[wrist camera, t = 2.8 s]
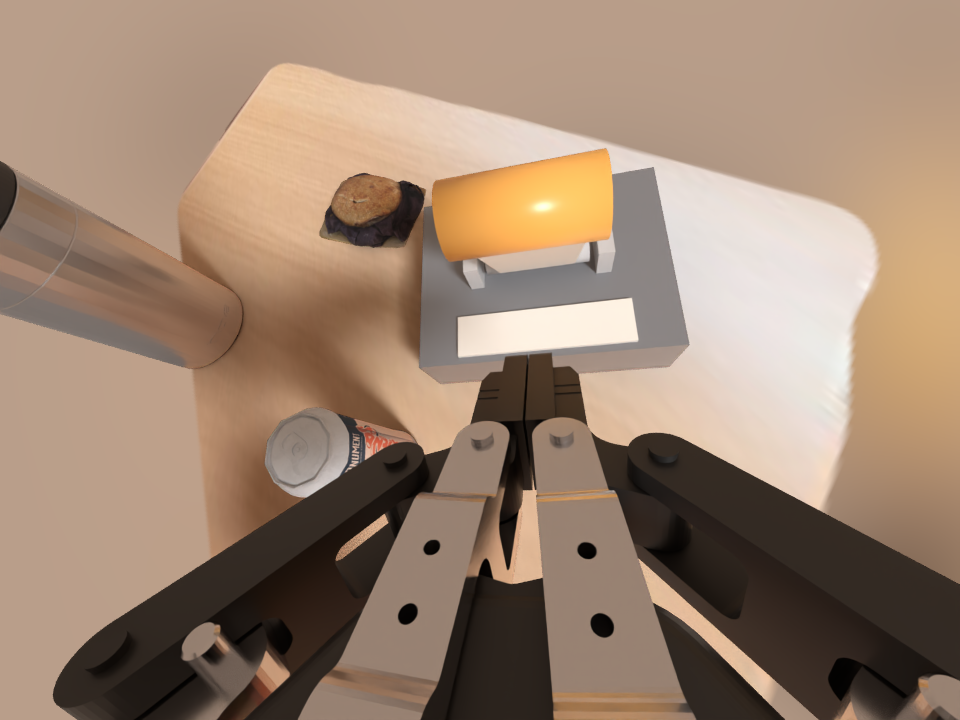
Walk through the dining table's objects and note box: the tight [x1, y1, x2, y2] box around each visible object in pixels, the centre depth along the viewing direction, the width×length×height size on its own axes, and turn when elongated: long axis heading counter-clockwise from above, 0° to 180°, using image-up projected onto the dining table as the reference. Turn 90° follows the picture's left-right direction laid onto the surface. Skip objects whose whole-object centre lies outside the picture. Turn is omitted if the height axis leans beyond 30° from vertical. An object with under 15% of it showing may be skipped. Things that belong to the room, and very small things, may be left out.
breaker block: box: [419, 167, 689, 384], centre depth 29 cm, size 14×18×8 cm
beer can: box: [265, 407, 417, 497], centre depth 25 cm, size 5×5×12 cm
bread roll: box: [320, 173, 426, 248], centre depth 38 cm, size 11×8×4 cm
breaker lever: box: [432, 148, 613, 275], centre depth 20 cm, size 3×7×15 cm, turn 92°
